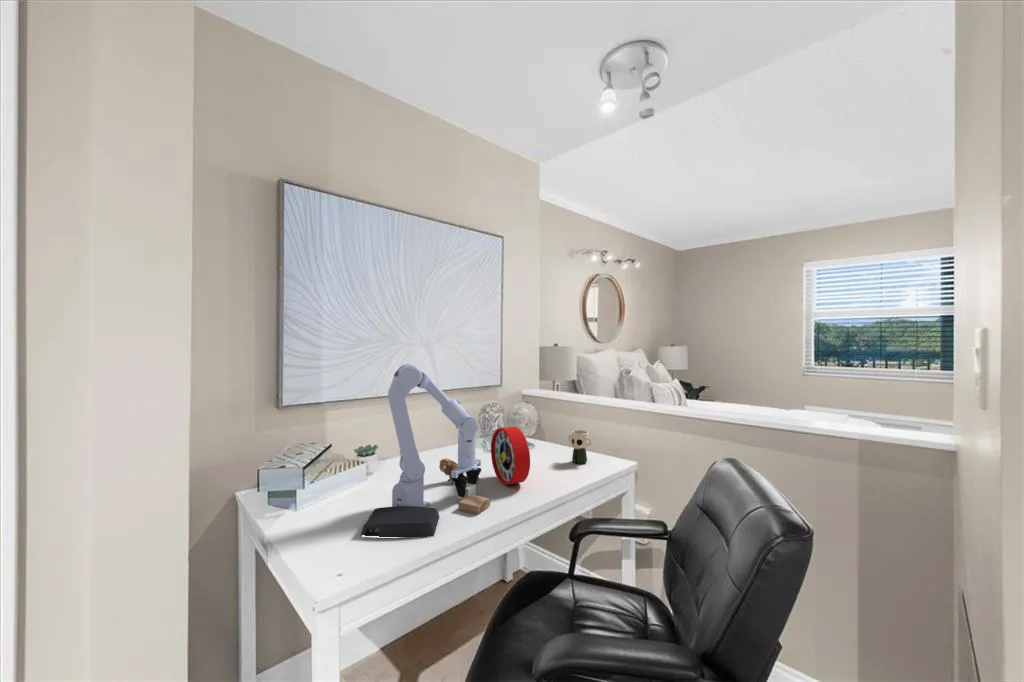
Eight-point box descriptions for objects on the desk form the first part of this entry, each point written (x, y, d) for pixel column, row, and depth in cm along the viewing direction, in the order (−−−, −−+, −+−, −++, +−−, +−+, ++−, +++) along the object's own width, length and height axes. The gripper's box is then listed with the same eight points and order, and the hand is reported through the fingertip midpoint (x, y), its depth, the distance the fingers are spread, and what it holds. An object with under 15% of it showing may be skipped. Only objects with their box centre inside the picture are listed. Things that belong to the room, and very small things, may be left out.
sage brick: (468, 501, 133) (468, 487, 133) (456, 498, 135) (456, 485, 135) (475, 496, 137) (475, 483, 137) (464, 494, 139) (464, 480, 139)
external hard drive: (373, 518, 121) (373, 504, 121) (440, 517, 122) (440, 504, 122) (359, 540, 108) (359, 525, 108) (433, 539, 109) (433, 524, 109)
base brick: (478, 515, 123) (478, 506, 123) (458, 510, 126) (458, 502, 126) (490, 506, 129) (490, 498, 129) (471, 502, 132) (471, 494, 132)
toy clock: (490, 475, 158) (491, 423, 157) (504, 472, 160) (504, 421, 160) (515, 493, 140) (515, 434, 140) (530, 490, 143) (530, 432, 142)
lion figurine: (440, 486, 146) (440, 461, 146) (438, 481, 151) (438, 456, 151) (480, 482, 150) (480, 457, 150) (477, 477, 155) (477, 453, 155)
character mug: (564, 461, 175) (564, 431, 175) (573, 457, 180) (573, 428, 180) (586, 467, 168) (586, 435, 168) (595, 463, 173) (595, 432, 173)
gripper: (464, 459, 128) (464, 503, 128) (488, 448, 140) (488, 488, 141) (445, 456, 131) (445, 499, 131) (470, 445, 144) (470, 484, 144)
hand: (466, 493), depth 136 cm, fingers open, 5 cm apart
